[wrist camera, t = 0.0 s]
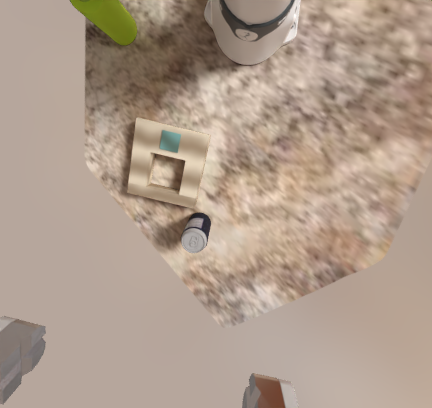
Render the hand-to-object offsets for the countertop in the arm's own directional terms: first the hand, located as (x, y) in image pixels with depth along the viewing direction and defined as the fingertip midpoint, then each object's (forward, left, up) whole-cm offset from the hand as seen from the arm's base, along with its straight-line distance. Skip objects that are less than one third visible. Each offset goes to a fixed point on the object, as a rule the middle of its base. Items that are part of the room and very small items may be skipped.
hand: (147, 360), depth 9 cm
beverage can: (+13, -1, -48) cm, 50 cm away
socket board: (0, -11, -48) cm, 49 cm away
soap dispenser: (-25, -25, -48) cm, 60 cm away
